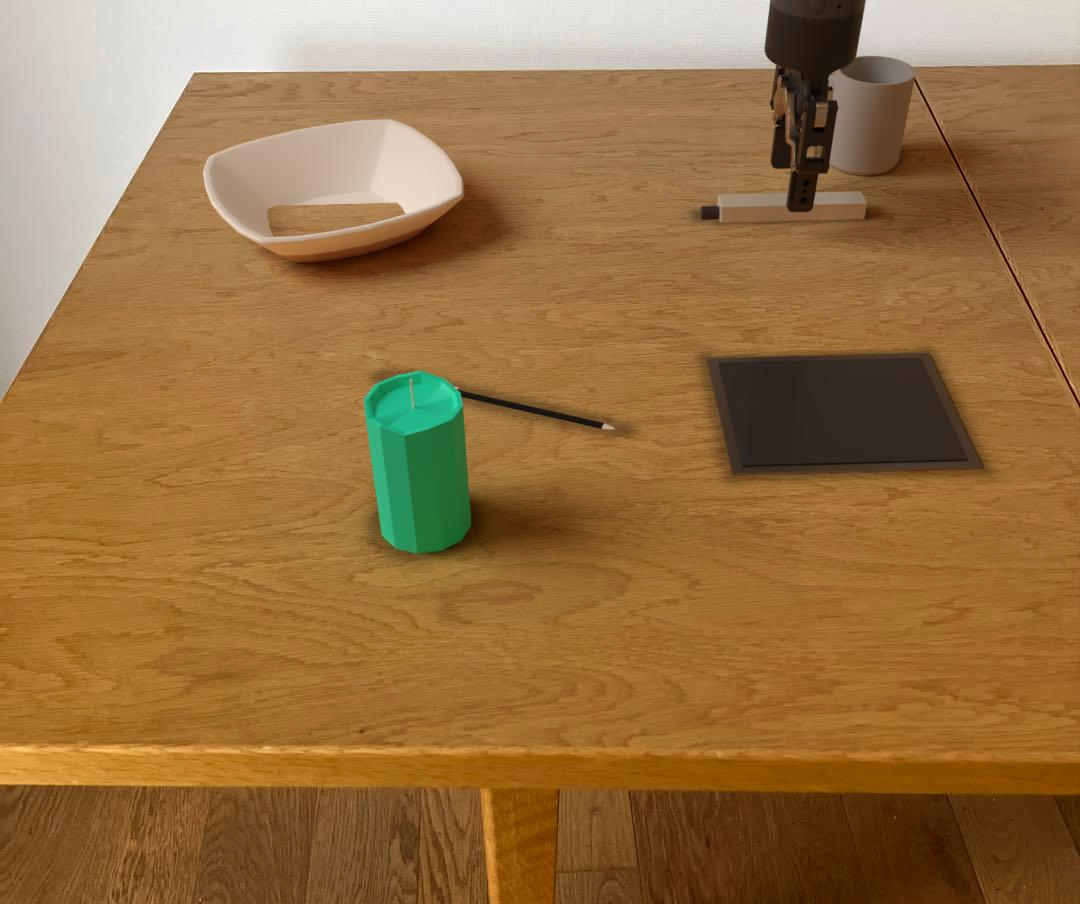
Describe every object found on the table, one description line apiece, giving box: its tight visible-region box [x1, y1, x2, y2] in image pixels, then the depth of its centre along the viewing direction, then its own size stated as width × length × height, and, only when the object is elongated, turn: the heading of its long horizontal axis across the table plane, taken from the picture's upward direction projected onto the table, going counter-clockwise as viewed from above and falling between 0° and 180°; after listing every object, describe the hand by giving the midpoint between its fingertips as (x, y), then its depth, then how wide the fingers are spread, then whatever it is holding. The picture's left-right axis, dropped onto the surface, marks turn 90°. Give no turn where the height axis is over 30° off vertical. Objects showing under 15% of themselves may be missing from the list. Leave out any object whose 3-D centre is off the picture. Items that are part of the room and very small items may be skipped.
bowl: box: [202, 118, 465, 264], centre depth 108 cm, size 22×22×5 cm
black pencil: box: [454, 386, 616, 430], centre depth 87 cm, size 1×19×1 cm, turn 68°
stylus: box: [699, 190, 868, 223], centre depth 108 cm, size 15×2×2 cm, turn 91°
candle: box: [363, 370, 472, 555], centre depth 74 cm, size 6×6×12 cm
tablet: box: [705, 352, 984, 476], centre depth 86 cm, size 17×14×1 cm
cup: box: [828, 55, 916, 177], centre depth 116 cm, size 7×10×9 cm
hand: (790, 187), depth 107 cm, fingers open, 8 cm apart
